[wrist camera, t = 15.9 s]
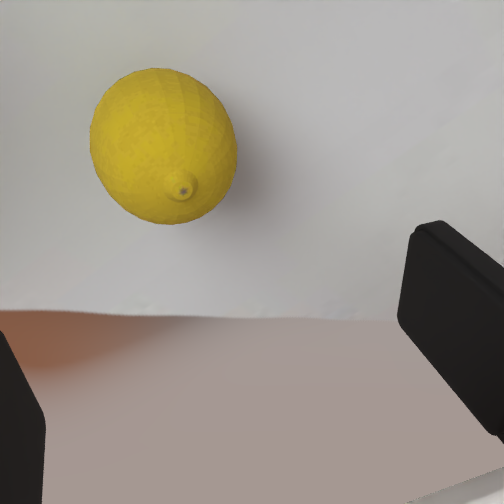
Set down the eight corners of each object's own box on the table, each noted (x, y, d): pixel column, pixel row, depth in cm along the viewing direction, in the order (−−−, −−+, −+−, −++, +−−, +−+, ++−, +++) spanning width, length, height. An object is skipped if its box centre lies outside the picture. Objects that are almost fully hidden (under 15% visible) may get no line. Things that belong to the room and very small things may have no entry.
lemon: (143, 190, 24) (168, 287, 17) (58, 102, 20) (52, 183, 14) (232, 122, 23) (291, 197, 17) (160, 20, 20) (201, 66, 13)
